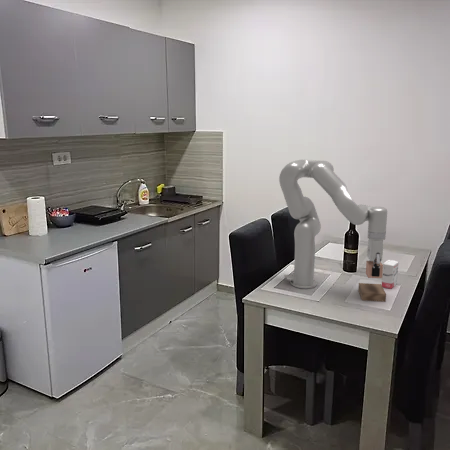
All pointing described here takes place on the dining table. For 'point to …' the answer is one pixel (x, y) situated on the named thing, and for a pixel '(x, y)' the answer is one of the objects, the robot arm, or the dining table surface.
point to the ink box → (390, 274)
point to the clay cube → (369, 269)
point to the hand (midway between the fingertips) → (373, 273)
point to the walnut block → (372, 292)
